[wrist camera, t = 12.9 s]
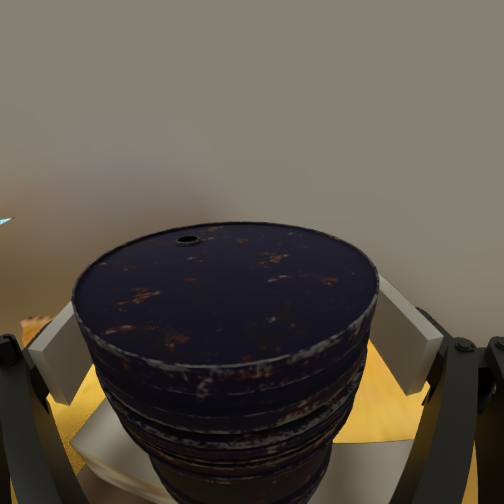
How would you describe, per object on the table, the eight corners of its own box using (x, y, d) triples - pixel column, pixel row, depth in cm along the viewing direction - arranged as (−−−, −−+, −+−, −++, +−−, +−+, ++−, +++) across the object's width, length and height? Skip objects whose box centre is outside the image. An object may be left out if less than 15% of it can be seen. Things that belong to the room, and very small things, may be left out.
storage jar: (349, 478, 13) (437, 270, 8) (218, 559, 8) (92, 455, 3) (259, 399, 21) (257, 211, 15) (146, 448, 16) (68, 250, 10)
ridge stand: (70, 501, 14) (28, 462, 11) (131, 413, 27) (111, 366, 24) (414, 561, 8) (463, 539, 5) (405, 447, 21) (433, 401, 18)
